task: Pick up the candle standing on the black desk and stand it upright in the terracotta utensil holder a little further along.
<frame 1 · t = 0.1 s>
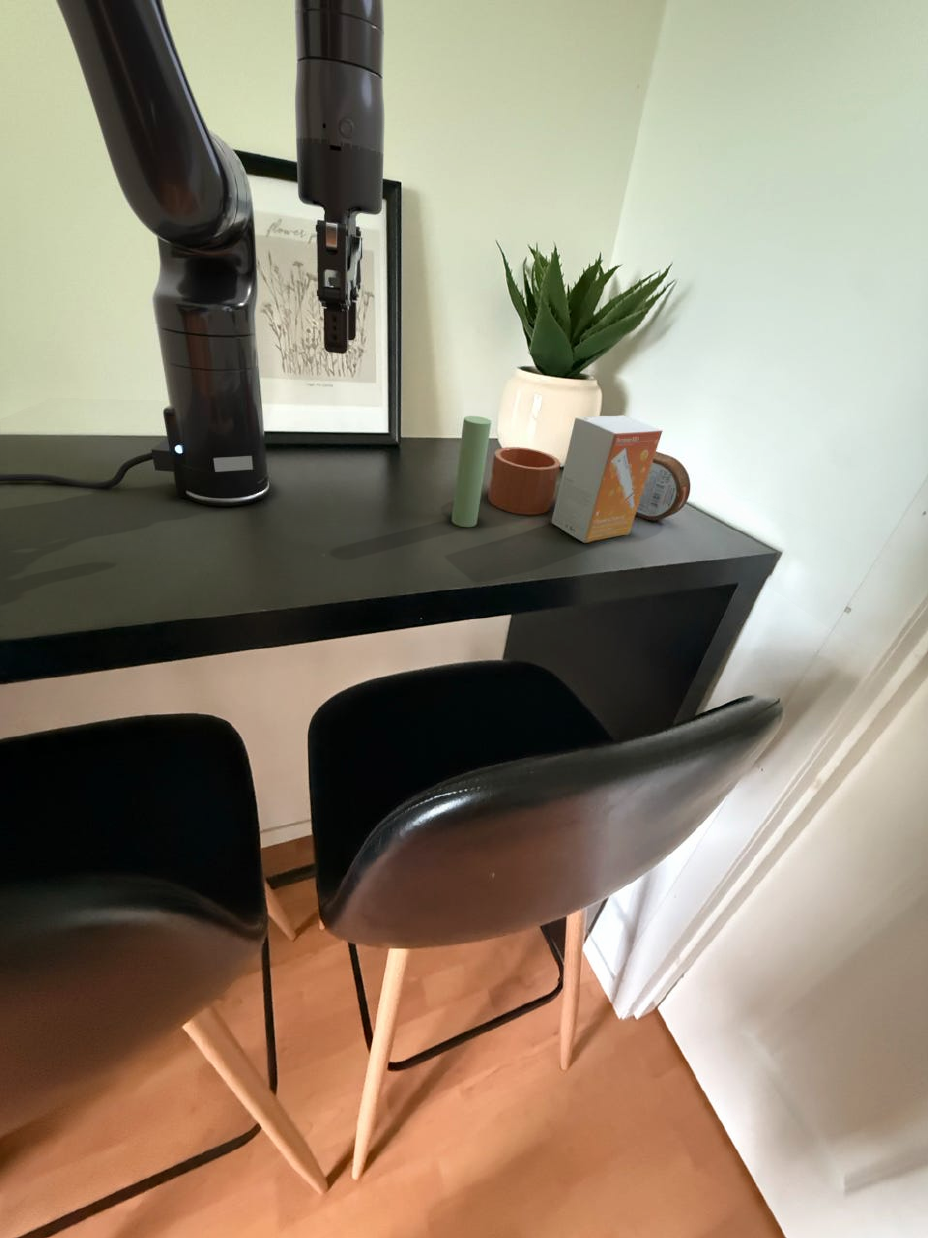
hand: (341, 345, 57), 17 cm above the table, tool pointing down, fingers open, 8 cm apart
tin: (623, 509, 77), on the table
small box: (590, 530, 69), on the table
holder: (519, 501, 74), on the table
candle: (464, 521, 66), on the table
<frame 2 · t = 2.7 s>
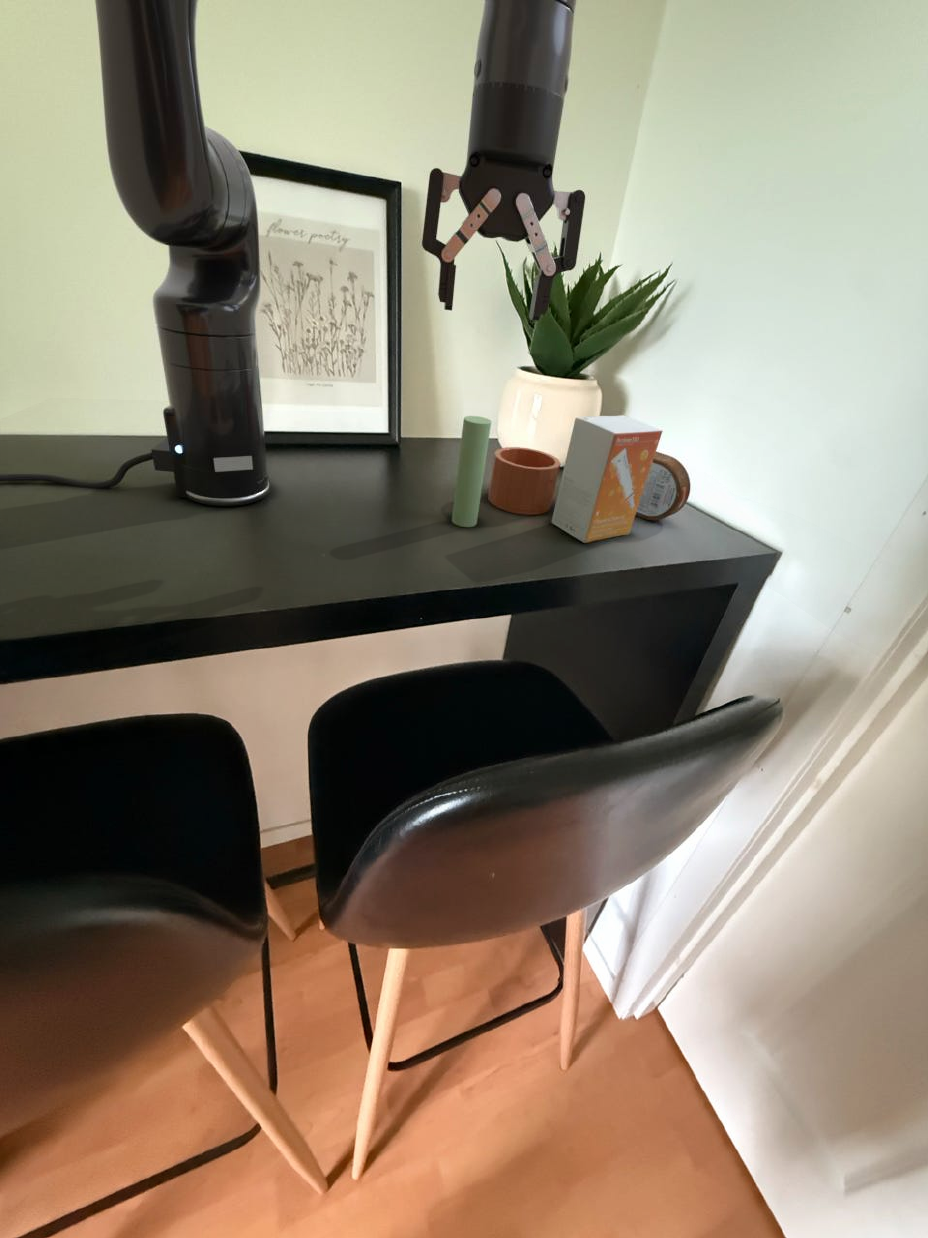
hand: (491, 314, 54), 22 cm above the table, tool pointing down, fingers open, 8 cm apart
nothing on the table moved.
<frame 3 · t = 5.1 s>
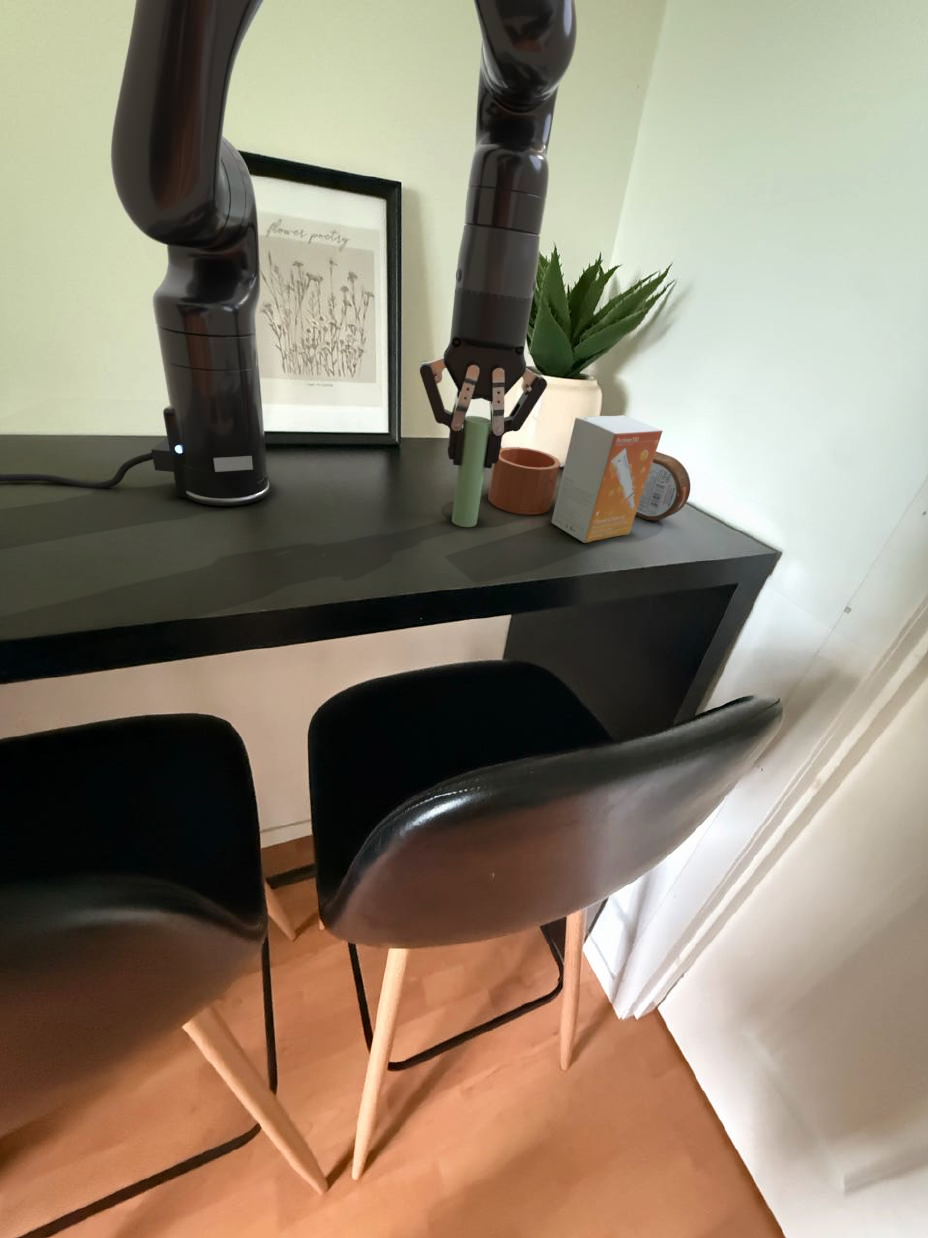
hand: (471, 463, 62), 7 cm above the table, tool pointing down, fingers closed on candle, 3 cm apart
candle: (464, 521, 66), on the table, touching gripper
everything else where it was.
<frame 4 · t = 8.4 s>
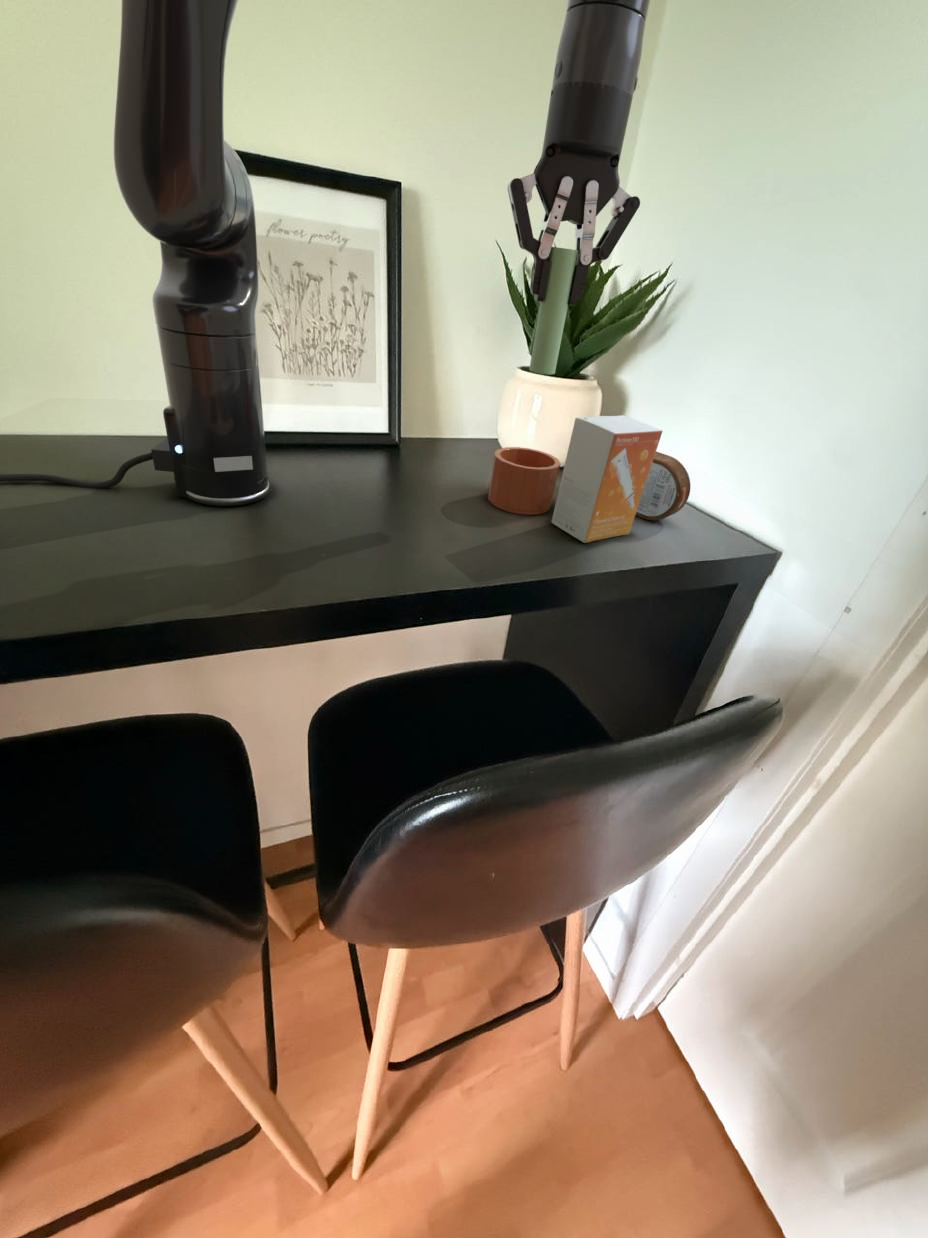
hand: (554, 301, 60), 23 cm above the table, tool pointing down, fingers closed on candle, 3 cm apart
candle: (541, 371, 64), point 16 cm above the table, touching gripper
everything else where it was.
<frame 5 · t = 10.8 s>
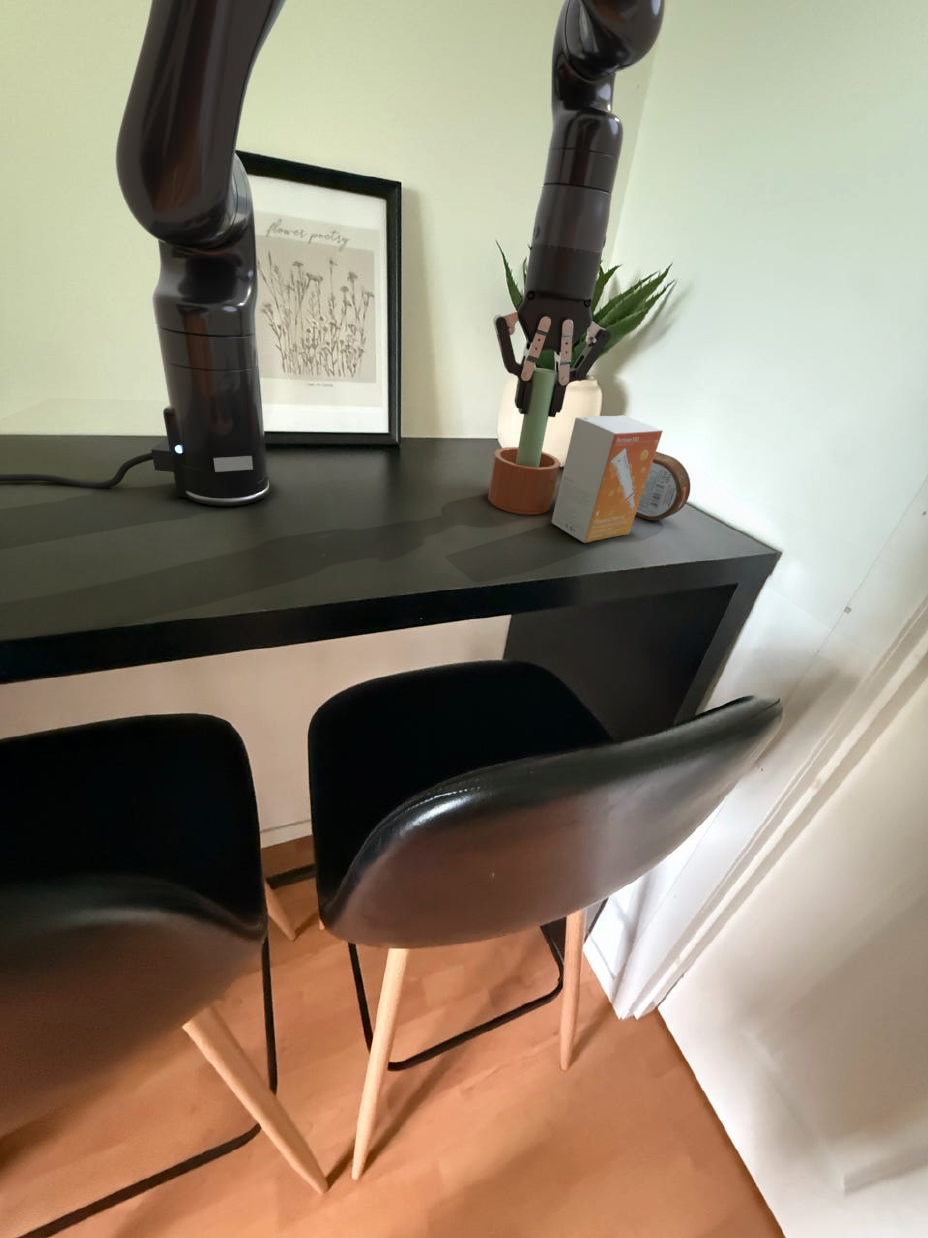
hand: (536, 413, 67), 12 cm above the table, tool pointing down, fingers closed on candle, 3 cm apart
candle: (526, 470, 71), point 4 cm above the table, touching gripper
everything else where it was.
when the fingers open (8 cm above the table, at t = 12.2 s): candle stays where it is, resting on holder.
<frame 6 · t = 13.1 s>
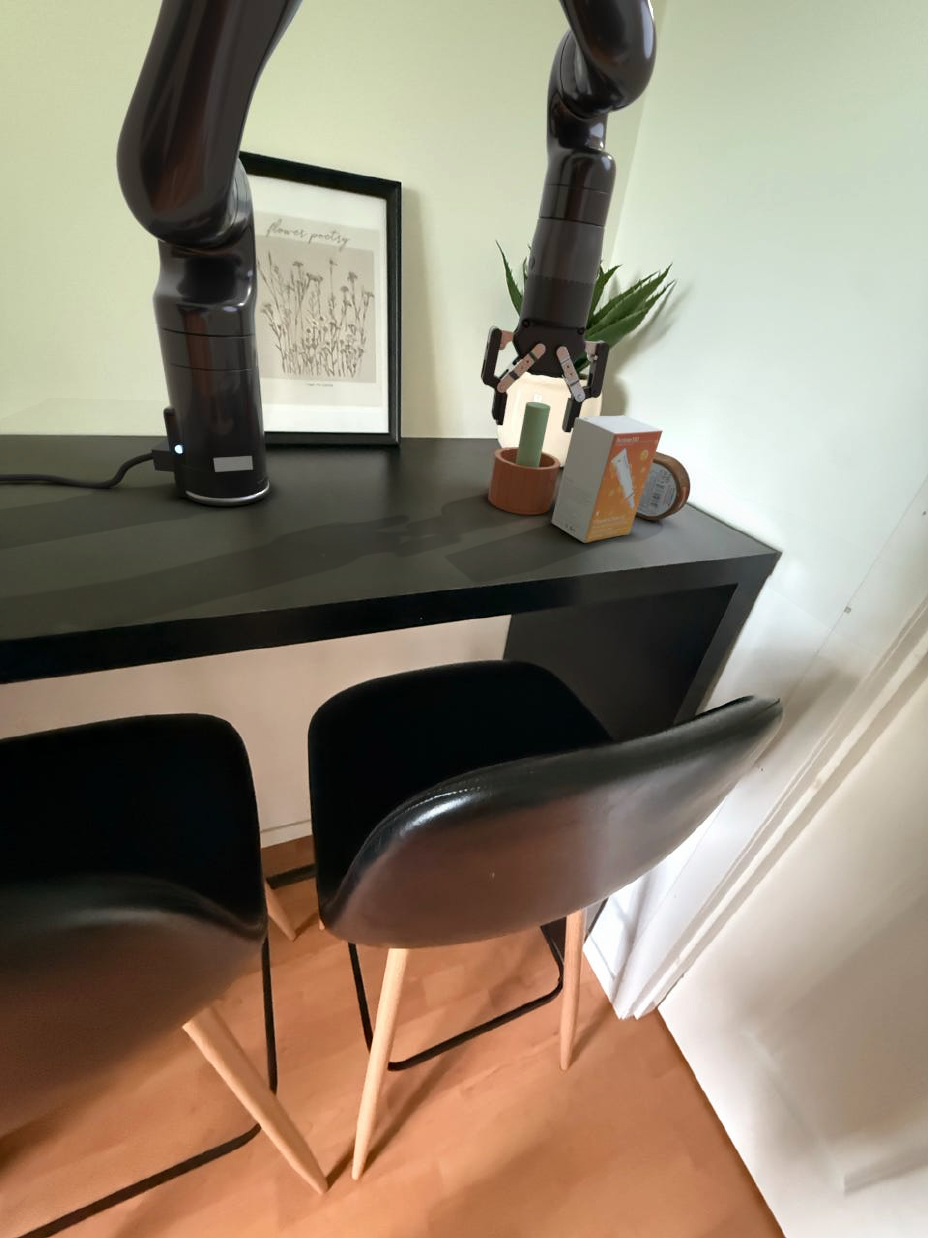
hand: (532, 427, 68), 10 cm above the table, tool pointing down, fingers open, 8 cm apart
candle: (520, 498, 74), resting on holder
everything else where it was.
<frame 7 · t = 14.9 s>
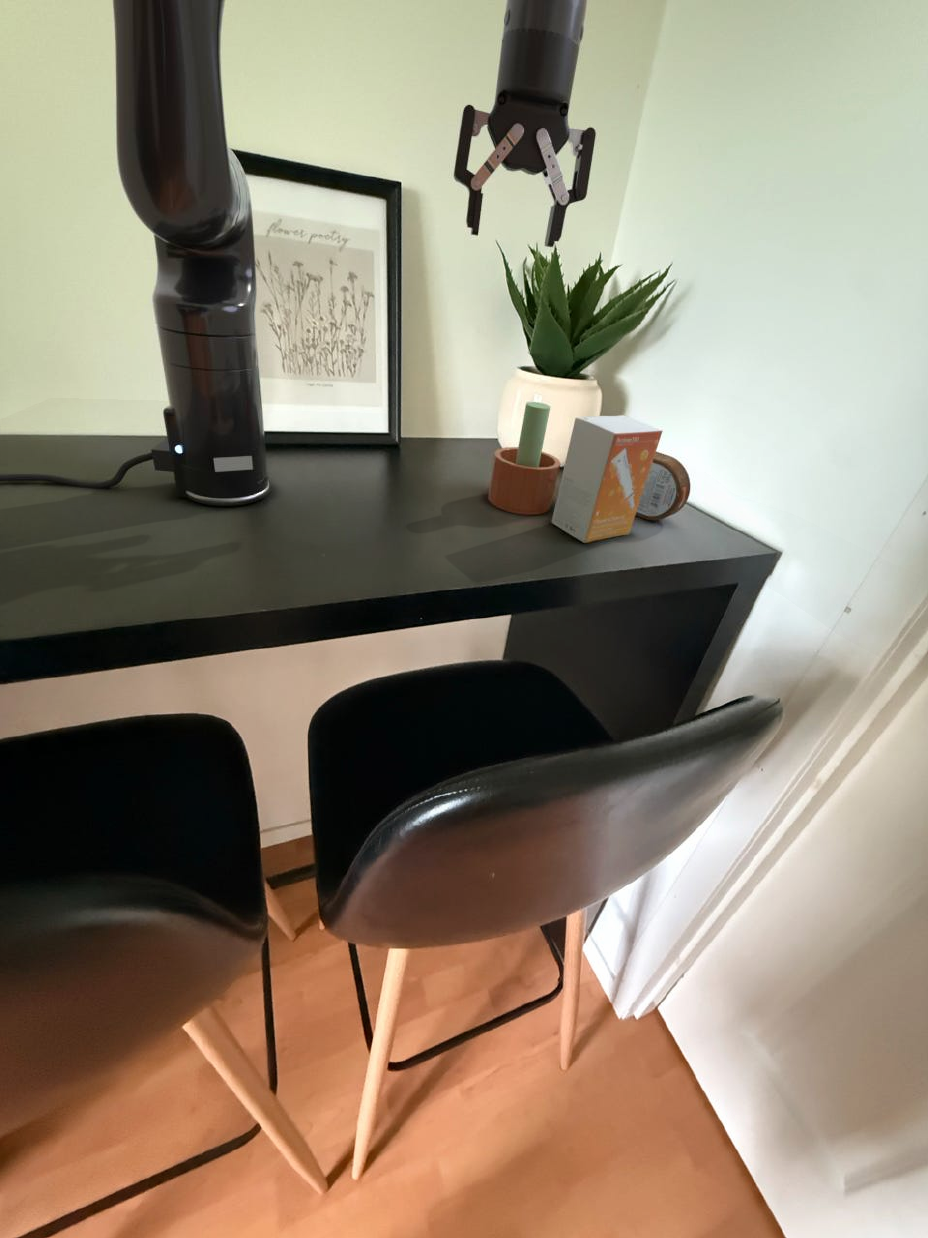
hand: (511, 240, 62), 28 cm above the table, tool pointing down, fingers open, 8 cm apart
nothing on the table moved.
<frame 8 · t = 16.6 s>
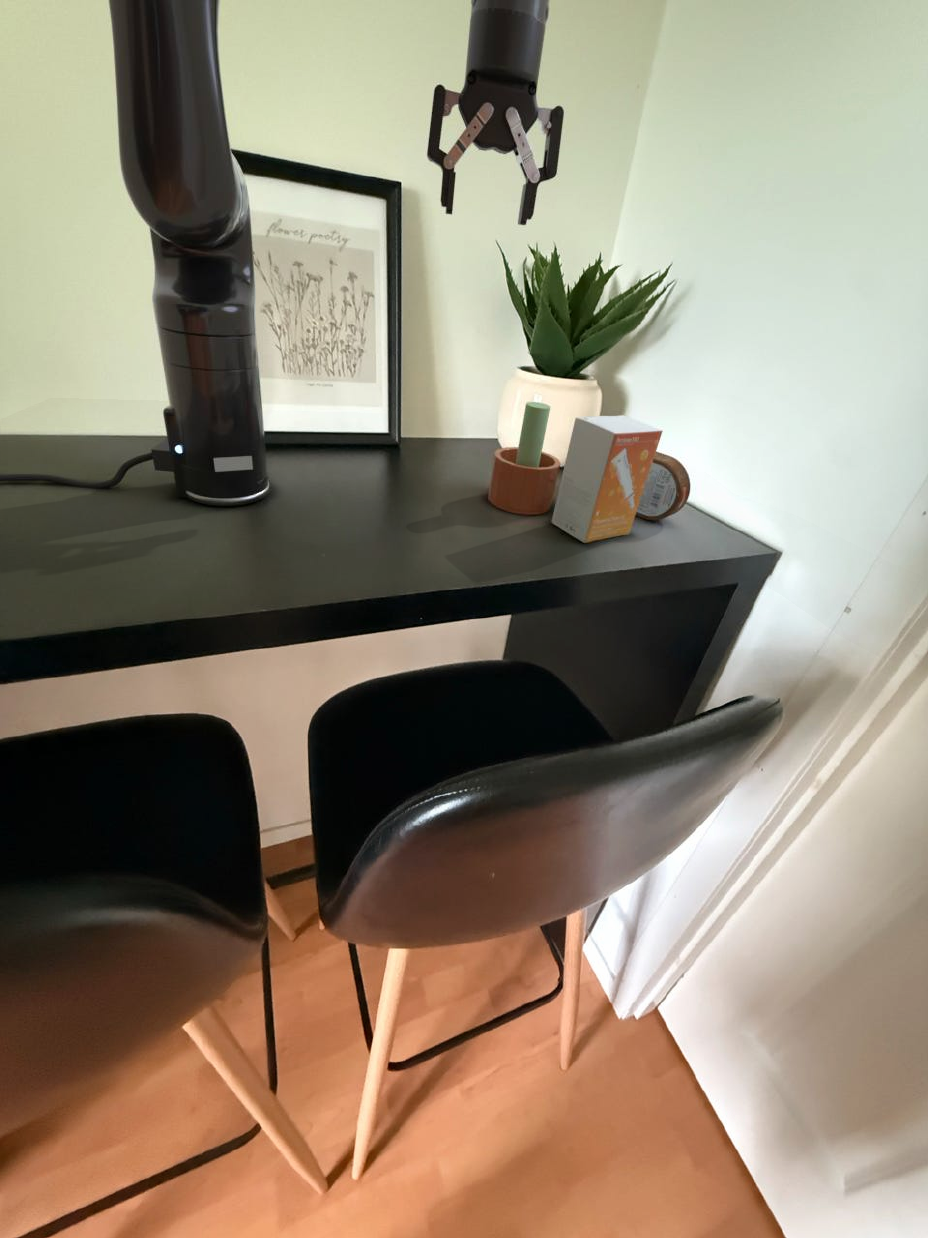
hand: (485, 219, 64), 30 cm above the table, tool pointing down, fingers open, 8 cm apart
nothing on the table moved.
at the end: candle 0.1 cm off-centre in the holder, point 0.5 cm above the holder's base; candle tilted 0°; the gripper is holding nothing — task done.
